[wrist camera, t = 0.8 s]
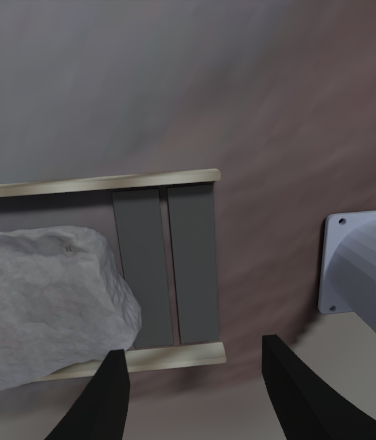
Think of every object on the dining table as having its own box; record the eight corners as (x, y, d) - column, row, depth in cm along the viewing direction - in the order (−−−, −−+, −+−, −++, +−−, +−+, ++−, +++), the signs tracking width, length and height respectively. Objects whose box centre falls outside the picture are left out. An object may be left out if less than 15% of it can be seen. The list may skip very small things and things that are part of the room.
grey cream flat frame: (216, 168, 18) (220, 172, 17) (222, 347, 23) (226, 362, 21) (-161, 196, 18) (-193, 202, 16) (-79, 376, 22) (-97, 394, 20)
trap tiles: (212, 183, 19) (213, 184, 18) (218, 337, 22) (219, 340, 22) (112, 191, 18) (111, 192, 18) (135, 345, 22) (135, 348, 22)
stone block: (-46, 245, 21) (4, 367, 22) (-115, 262, 16) (-47, 417, 17) (108, 197, 20) (150, 323, 21) (84, 200, 16) (140, 362, 17)
